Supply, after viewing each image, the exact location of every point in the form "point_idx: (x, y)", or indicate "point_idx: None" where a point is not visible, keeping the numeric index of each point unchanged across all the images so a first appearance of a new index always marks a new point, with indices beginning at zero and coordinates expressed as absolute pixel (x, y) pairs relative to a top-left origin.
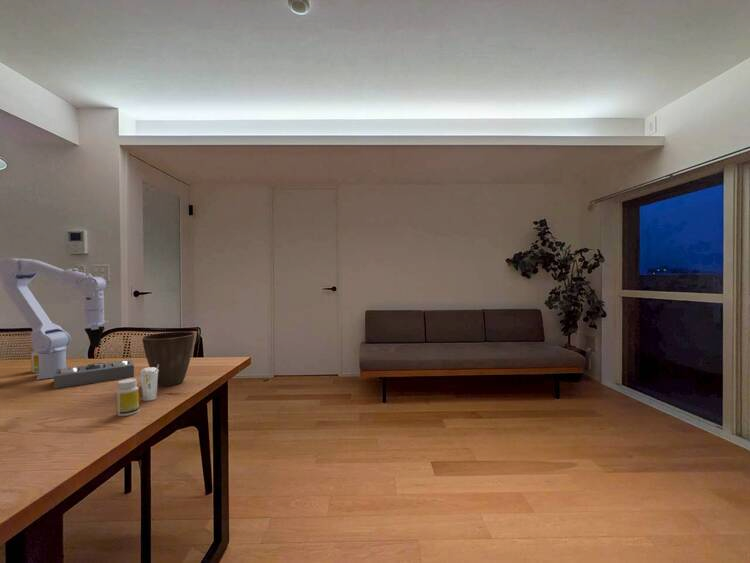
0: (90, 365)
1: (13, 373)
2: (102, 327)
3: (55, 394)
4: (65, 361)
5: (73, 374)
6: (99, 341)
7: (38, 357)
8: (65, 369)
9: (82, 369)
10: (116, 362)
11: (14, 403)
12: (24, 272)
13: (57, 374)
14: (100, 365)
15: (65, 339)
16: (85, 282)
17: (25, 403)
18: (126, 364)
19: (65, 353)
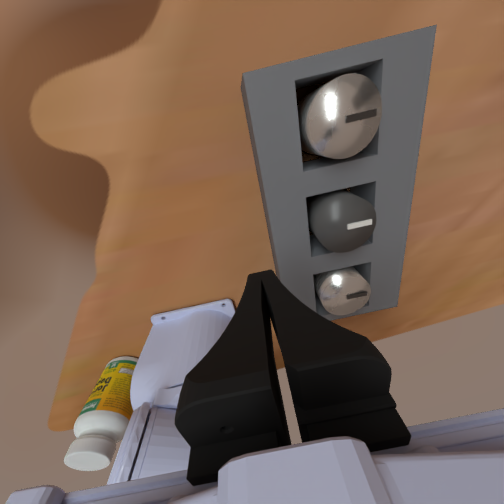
0: (357, 241)
1: None
2: (274, 393)
3: (438, 263)
4: (199, 339)
5: (399, 265)
6: (284, 287)
7: (132, 413)
8: (360, 301)
9: (350, 258)
10: (359, 138)
11: (445, 312)
12: None
13: (376, 305)
14: (370, 203)
15: (169, 442)
16: None
17: (466, 295)
18: (382, 80)
19: (191, 367)
